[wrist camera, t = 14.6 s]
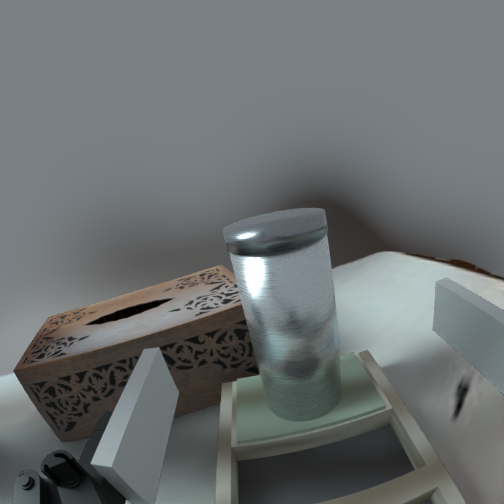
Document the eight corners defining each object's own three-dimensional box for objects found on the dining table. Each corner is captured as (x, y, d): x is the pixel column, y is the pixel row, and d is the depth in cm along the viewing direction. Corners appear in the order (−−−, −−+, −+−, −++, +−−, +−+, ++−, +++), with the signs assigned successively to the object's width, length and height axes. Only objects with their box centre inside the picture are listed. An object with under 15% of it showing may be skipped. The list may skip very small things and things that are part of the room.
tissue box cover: (63, 443, 20) (13, 370, 18) (77, 377, 34) (48, 317, 31) (281, 379, 28) (264, 296, 26) (237, 328, 42) (220, 264, 39)
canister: (251, 397, 22) (205, 231, 18) (306, 362, 25) (280, 208, 21) (301, 435, 17) (262, 235, 13) (358, 388, 20) (346, 207, 16)
